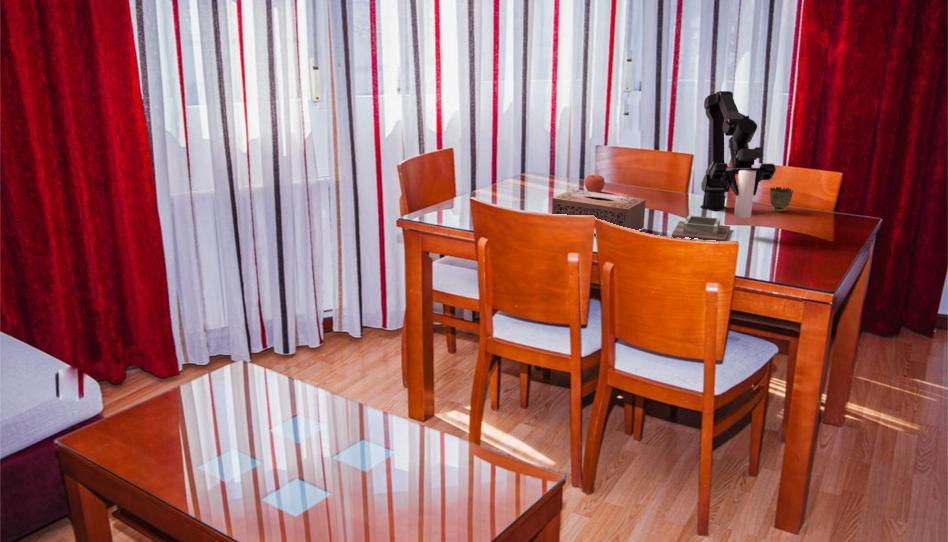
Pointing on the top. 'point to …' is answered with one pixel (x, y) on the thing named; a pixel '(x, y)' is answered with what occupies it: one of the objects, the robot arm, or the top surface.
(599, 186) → the apple
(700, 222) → the collar seat
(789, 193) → the cup
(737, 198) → the cream post
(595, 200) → the tissue box cover
